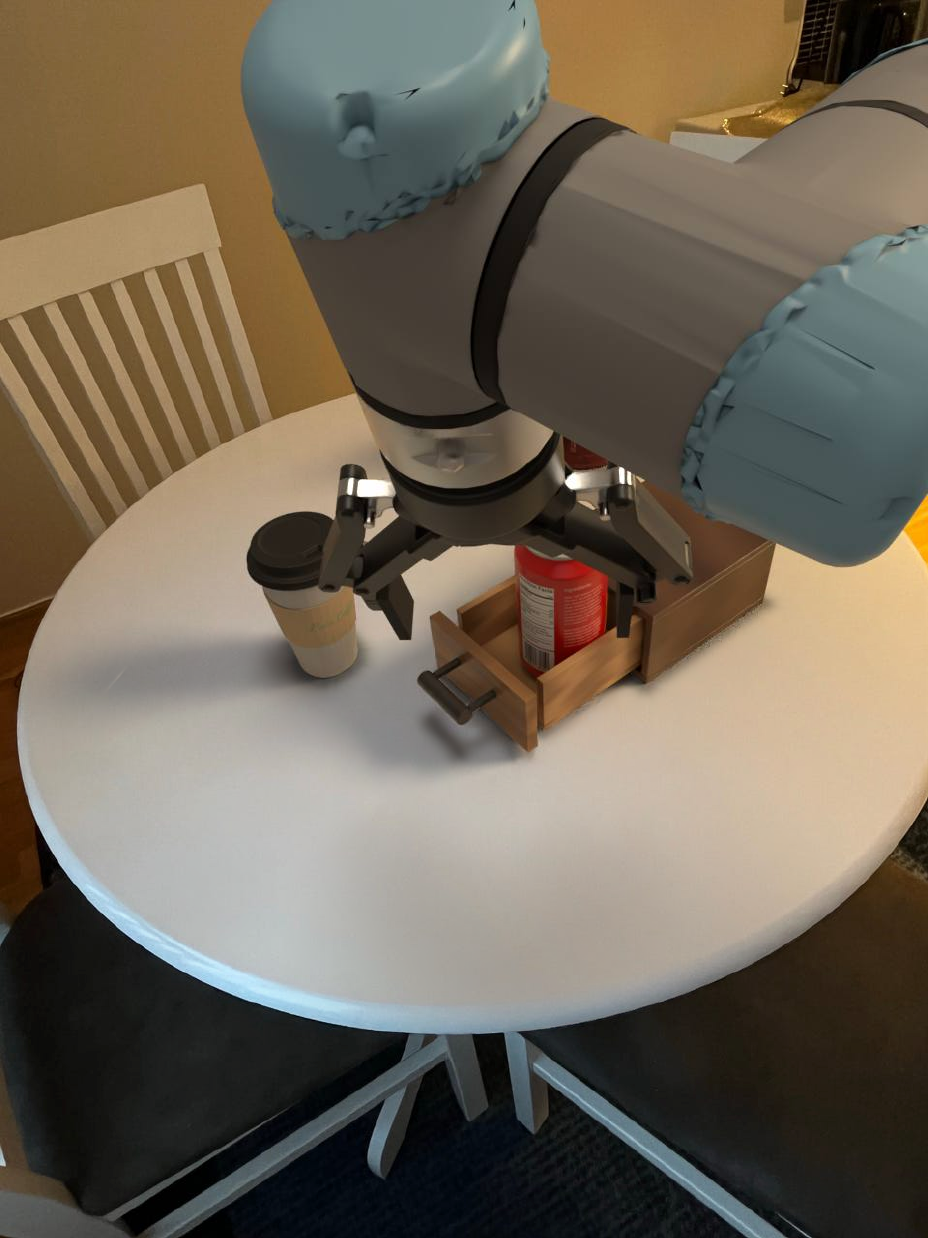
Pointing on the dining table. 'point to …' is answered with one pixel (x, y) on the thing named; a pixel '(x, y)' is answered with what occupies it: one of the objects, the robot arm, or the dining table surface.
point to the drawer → (520, 666)
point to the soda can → (556, 607)
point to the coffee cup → (304, 592)
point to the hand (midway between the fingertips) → (512, 619)
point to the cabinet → (701, 587)
